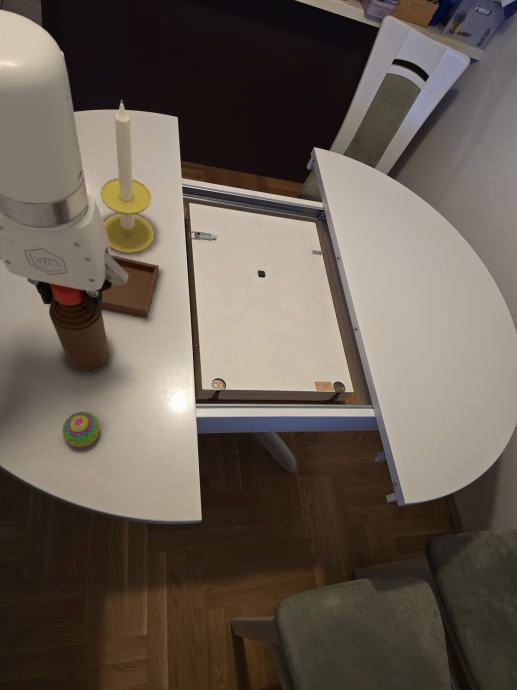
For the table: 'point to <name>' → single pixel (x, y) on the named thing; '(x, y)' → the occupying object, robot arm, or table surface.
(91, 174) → the table surface
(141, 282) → the tray
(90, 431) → the egg
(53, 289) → the cap
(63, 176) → the robot arm
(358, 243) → the table surface
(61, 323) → the bottle
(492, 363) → the table surface
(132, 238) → the candle
